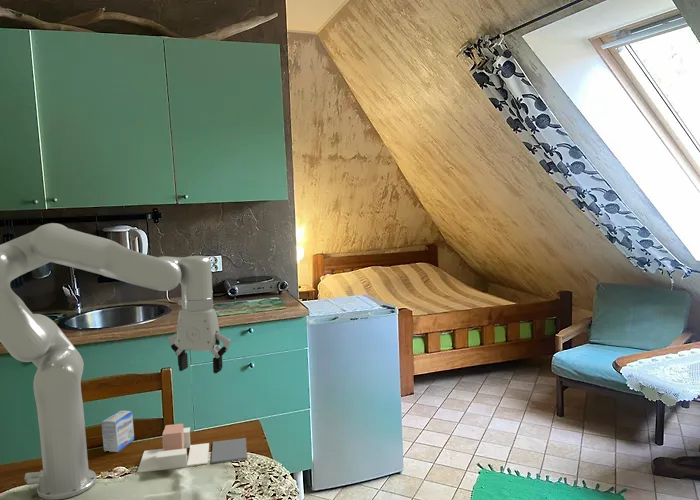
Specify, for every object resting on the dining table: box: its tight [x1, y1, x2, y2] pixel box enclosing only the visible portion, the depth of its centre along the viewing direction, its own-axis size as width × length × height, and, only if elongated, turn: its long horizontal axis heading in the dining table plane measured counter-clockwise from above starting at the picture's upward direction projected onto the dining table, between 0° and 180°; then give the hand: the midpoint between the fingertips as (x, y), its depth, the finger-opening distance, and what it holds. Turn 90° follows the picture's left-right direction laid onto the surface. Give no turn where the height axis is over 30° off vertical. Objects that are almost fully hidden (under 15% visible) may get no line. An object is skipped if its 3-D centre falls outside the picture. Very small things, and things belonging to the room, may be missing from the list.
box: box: [162, 423, 185, 451], centre depth 144 cm, size 4×6×8 cm
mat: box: [211, 437, 248, 465], centre depth 148 cm, size 9×12×1 cm
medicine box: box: [101, 410, 135, 453], centre depth 153 cm, size 8×4×9 cm, turn 168°
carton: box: [137, 426, 210, 474], centre depth 145 cm, size 17×16×4 cm
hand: (200, 370), depth 141 cm, fingers open, 9 cm apart
